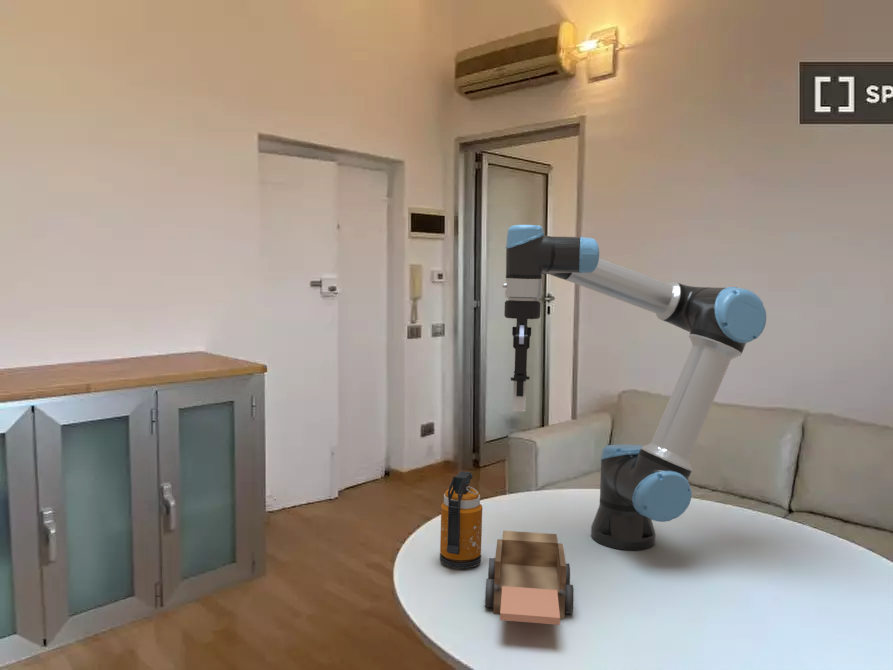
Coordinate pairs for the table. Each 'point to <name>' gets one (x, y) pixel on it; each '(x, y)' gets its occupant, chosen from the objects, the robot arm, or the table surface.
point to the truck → (529, 568)
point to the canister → (461, 524)
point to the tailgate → (529, 605)
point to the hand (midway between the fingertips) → (519, 410)
